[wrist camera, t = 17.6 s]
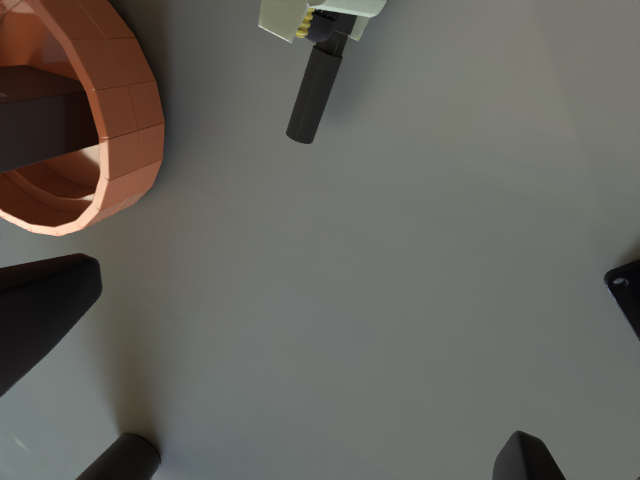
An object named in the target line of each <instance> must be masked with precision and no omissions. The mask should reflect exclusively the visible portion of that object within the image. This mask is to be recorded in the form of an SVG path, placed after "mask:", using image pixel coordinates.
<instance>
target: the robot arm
mask: <svg viewBox="0 0 640 480" xmlns="http://www.w3.org/2000/svg"><path fill="white" fill-rule="evenodd" d="M619 278H622V279H624V281H623V282H622V283H619V284H615V283H613V282H614V280H616V279H619ZM604 282H605V285H606V287H607V289H608V290H609V292H610V293H611V295H612V297H613V298H614V300H615V302H616V303H617V305H618V306H619V308H620V310H621V311H622V313H623V315H624V316H625V318H626V319H627V321H628V323H629V324H630V326H631V328H632V329H633V331H634V332H635V334H636V336H637V337H638V339H639V341H640V260H637V261H635V262H632V263H629V264H626V265H624V266H621V267H618V268H615V269H613V270H611V271H609V272H607V273H606V275H605V276H604ZM101 293H102V280H101V271H100V264H99V262H98V260H97V259H95V258H93V257H90V256H88V255H85V254H82V253H77V254H71V255H66V256H61V257H56V258H51V259H45V260H40V261H35V262H30V263H25V264H19V265H14V266H9V267H4V268H0V398H1V397H2V396H3V395H4V394H5V393H6V392H7V391H8V390H9V389H10V388H11V387H13V386H14V385H15V384H16V383H17V382H18V381H19V380H20V379H21V378H22V377H23V376H24V375H26V374H27V373H28V372H29V371H30V370H31V369H32V368H33V367H34V366H35V365H36V364H37V363H39V362H40V361H41V360H42V359H43V358H44V357H45V356H46V355H47V354H48V353H49V352H50V351H51V350H52V349H53V348H54V347H55V346H56V345H57V344H58V343H59V342H60V340H61V339H62V338H63V337H64V336H65V335H66V334H67V333H68V332H69V330H70V329H71V328H72V327H73V326H74V325H75V324H76V323H77V322H78V321H79V319H80V318H81V317H82V316H83V315H84V314H85V313H86V312H87V311H88V310H89V308H90V307H91V306H92V305H93V304H94V303H95V302H96V301H97V300H98V298H99V297H100V295H101ZM492 480H566V479H565V477H564V476H563V474H562V472H561V471H560V469H559V467H558V466H557V464H556V462H555V461H554V459H553V457H552V456H551V454H550V452H549V450H548V449H547V447H546V445H545V444H544V443H543V442H542V440H540V439H539V438H537V437H534V436H532V435H529V434H527V433H524V432H522V431H516V432H514V433H513V434H512V436H511V437H510V438H509V440H508V441H507V443H506V444H505V446H504V447H503V449H502V450H501V451H500V453H499V454H498V456H497V458H496V461H495V464H494V469H493V478H492ZM637 480H640V477H639V478H637Z"/></svg>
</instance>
